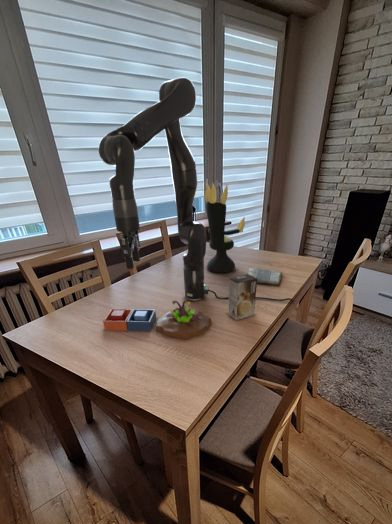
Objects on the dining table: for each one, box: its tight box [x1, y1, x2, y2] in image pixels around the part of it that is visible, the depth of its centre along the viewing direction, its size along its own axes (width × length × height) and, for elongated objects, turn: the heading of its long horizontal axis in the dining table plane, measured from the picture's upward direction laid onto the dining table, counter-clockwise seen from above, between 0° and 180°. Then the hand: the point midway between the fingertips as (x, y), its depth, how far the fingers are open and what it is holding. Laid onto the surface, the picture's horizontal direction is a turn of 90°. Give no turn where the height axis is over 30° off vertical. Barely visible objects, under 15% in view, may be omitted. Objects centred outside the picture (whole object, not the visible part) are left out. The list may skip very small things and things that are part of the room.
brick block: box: [111, 310, 126, 321], centre depth 110 cm, size 4×4×4 cm
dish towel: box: [247, 267, 283, 286], centre depth 149 cm, size 19×18×3 cm
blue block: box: [134, 311, 149, 321], centre depth 109 cm, size 4×4×4 cm
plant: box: [155, 299, 212, 340], centre depth 106 cm, size 20×20×11 cm
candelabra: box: [204, 182, 246, 274], centre depth 149 cm, size 19×22×45 cm
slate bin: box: [127, 308, 157, 332], centre depth 110 cm, size 9×11×4 cm
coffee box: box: [227, 273, 258, 321], centre depth 111 cm, size 9×6×16 cm
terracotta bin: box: [102, 308, 134, 332], centre depth 110 cm, size 9×11×4 cm
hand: (133, 264), depth 97 cm, fingers open, 8 cm apart
